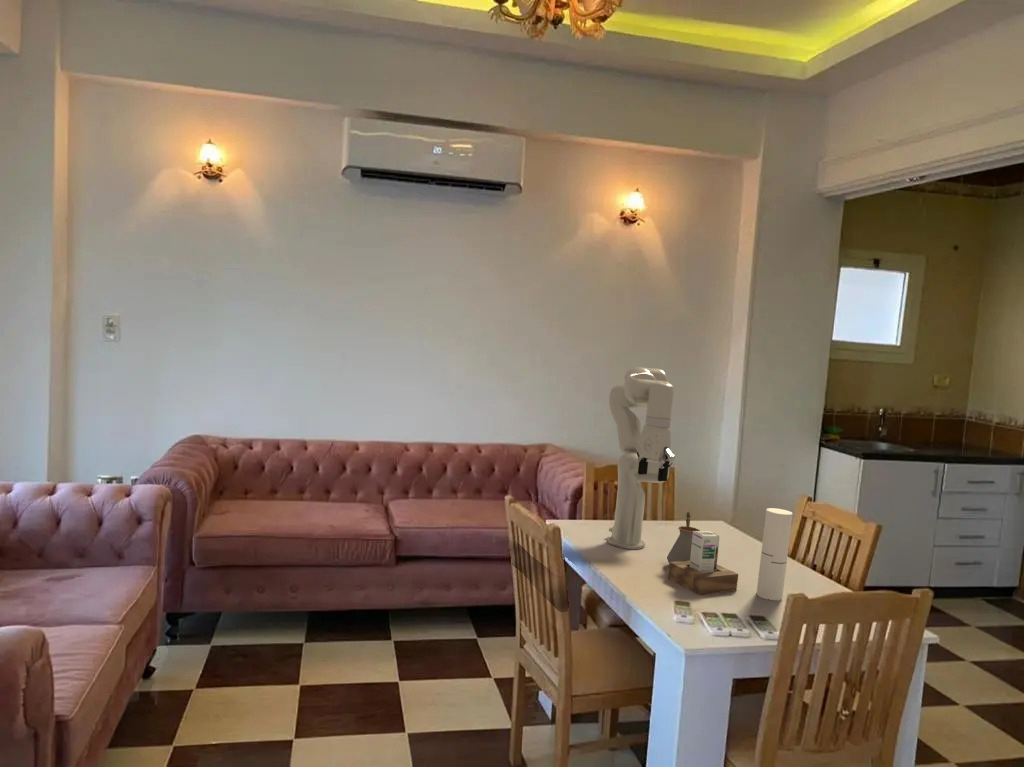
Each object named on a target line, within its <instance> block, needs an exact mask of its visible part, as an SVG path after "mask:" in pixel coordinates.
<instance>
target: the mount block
mask: <svg viewBox="0 0 1024 767" xmlns="http://www.w3.org/2000/svg"><path fill="white" fill-rule="evenodd" d="M668 565H669V566H668V572H667V573H668V574H667V575H668V576H667V579H669V581H671V582H675V583H676V584H678V585H680V586H682V587H684V588H686V589H688V590H689V591H691V592H693V593H695V594H697V595H699V596H702V595H710V594H720V593H727V592H736V591H737V590H738V589H737V588H738V580H739V573H737V572H735V571H733V570H730V569H728V568H726V567H724V566H721V565H719V564H717V567H716V572H709V573H701V572H699V571H697V570H695V569H693V568H691V567H690V560H688V561H677V562H670V564H669V563H668Z"/></svg>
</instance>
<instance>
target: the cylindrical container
mask: <svg viewBox="0 0 1024 767" xmlns="http://www.w3.org/2000/svg"><path fill="white" fill-rule="evenodd" d="M793 514H794V513H793V512H792V511H791V510H790V511H789V510H787V509H782V508H777V507H776V508H775V507H770V508H769V507H768V508H766V510H765V519H764V528H763V535H762V536H763V537H762V542H761V543H762V544H761V553H760V559H759V560H760V561H759V570H758V579H757V586H756V596H758V597H760V598H762V599H765V600H768V599H769V601H781V600H780V599H782V600H783V597H784V596H783V595H784V587H785V579H786V572H787V563H788V562H787V561H788V556H789V555H788V554H789V545H790V538H791V530H792V522H793V521H792V520H793Z"/></svg>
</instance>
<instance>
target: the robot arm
mask: <svg viewBox="0 0 1024 767" xmlns="http://www.w3.org/2000/svg"><path fill="white" fill-rule="evenodd" d="M674 390H675V387H674V386H673V384H671V383H670V382H668V376H667V374H666V372H665V371H664V370H663V369H661V368H655V367H654V368H653V367H643V366H634V367H631V368H629V369H628V370H627V371H626V372H625V374H624V384H618V385H615V386H613V387H612V388H611V389H610V392H609V396H608V399H609V400H608V402H609V404H608V405H609V409H610V413H611V416H612V417H613V419H614V422H615V425H616V429H617V438H618V440H617V441H618V446H619V450H620V452H621V455H620V456H619V457H618V460H617V494H616V502H615V503H616V504H615V513H614V523H613V526H612V527H609V528H608V532H610V533H611V536H609V537H608V538H607V542H608V543H609V544H610V545H611V546H614V547H617V548H621V549H626V550H627V549H628V550H639V549H644V548H645V546H646V542H644V540H642V533H643V532H642V531H643V525H644V524H643V523H644V512H645V505H646V504H645V503H646V493H645V491H644V489H643V487H642V486H641V485H640V483H652V484H653V483H655V484H662V483H665V482H667V481H668V478H669V476H670V468H671V466H672V465H673V462H674V460H675V454H673V453H672V451H671V444H672V443H671V442H672V441H671V436H672V435H671V420H672V419H671V418H672V412H673V401H674V392H675V391H674ZM631 409H635V410H636V409H637V410H646V414H645V415H646V416H645V424H644V425H643V426H642V425H641V421H640V419H639V417H638V416H637V415H636V414H635V413H634V412H633V411H632V410H631Z"/></svg>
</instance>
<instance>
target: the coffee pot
mask: <svg viewBox="0 0 1024 767" xmlns="http://www.w3.org/2000/svg"><path fill="white" fill-rule="evenodd" d="M684 516H685V517H686V519H685V525H681V526H678V528H677V529H678V530H679V535H678V537H677V539H676V541H675V542H674V544H673V546H672V547H671V549H670V551H669V553H668V554H667V557H666V560H667V563H668V565H669V564H670V562H677V561H688V560H690V557H691V546H692V536H693V531H701V530H700V529H698V528H697V527H692V526H690V524H691V520H690V519H691V517H692V516H693V515H692V513H691V512H690V511H687V512H685V513H684Z"/></svg>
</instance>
